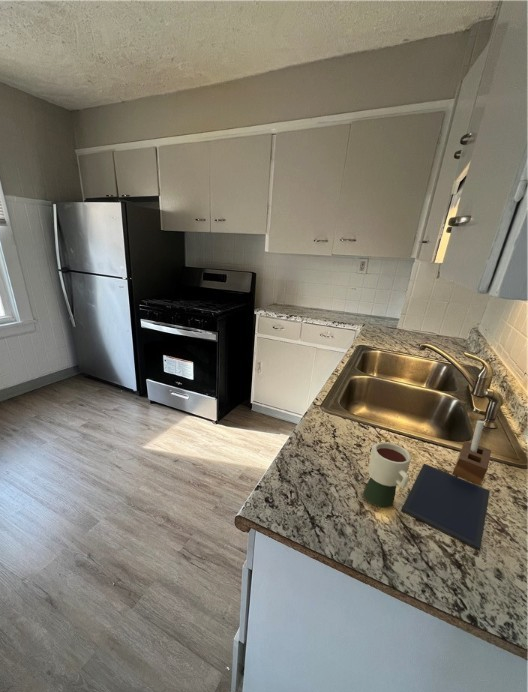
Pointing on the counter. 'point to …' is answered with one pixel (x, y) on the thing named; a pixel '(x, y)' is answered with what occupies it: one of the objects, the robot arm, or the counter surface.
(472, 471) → the pen stand
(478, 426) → the stylus
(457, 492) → the tablet
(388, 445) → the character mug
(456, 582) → the counter surface
